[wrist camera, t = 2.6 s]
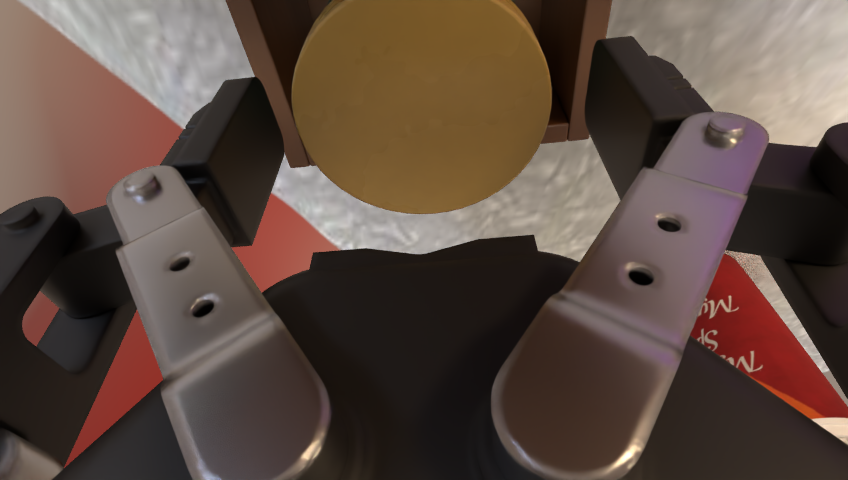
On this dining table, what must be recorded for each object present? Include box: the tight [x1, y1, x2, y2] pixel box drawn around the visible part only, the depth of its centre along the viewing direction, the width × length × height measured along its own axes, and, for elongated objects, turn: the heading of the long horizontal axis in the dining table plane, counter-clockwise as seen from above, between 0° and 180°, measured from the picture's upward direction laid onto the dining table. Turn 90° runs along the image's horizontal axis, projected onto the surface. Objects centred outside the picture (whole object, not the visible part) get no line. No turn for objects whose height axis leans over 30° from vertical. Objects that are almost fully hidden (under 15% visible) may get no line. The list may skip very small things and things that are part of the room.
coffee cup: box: [690, 254, 848, 445], centre depth 33 cm, size 8×8×15 cm
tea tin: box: [292, 0, 552, 214], centre depth 16 cm, size 6×6×14 cm
